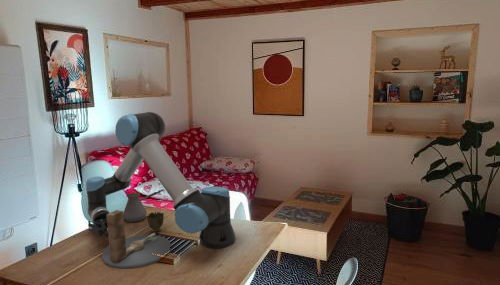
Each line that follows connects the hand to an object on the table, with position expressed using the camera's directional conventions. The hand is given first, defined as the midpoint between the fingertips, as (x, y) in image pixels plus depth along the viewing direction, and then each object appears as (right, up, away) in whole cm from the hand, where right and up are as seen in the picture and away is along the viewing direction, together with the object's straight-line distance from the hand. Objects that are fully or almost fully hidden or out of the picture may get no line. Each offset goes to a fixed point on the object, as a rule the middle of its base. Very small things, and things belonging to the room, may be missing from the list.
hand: (113, 237), depth 133 cm
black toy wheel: (+8, -5, +29) cm, 31 cm away
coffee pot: (-1, -3, +45) cm, 45 cm away
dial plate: (+6, -8, +9) cm, 14 cm away
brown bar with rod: (+6, -7, +8) cm, 12 cm away
